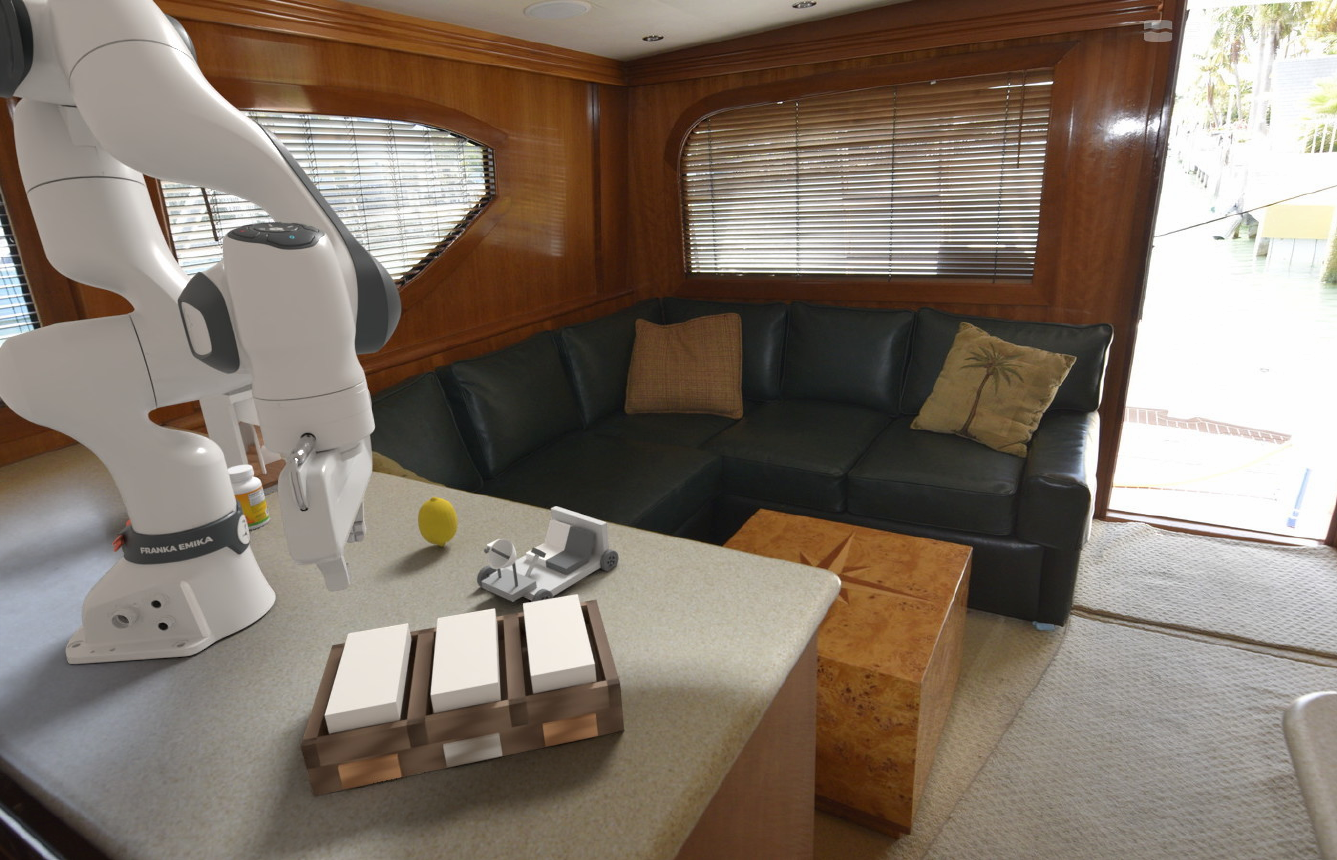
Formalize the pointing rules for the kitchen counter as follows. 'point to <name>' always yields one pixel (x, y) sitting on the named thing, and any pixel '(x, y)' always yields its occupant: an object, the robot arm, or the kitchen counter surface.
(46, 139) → the robot arm
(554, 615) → the switch
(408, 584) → the kitchen counter surface
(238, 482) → the supplement bottle
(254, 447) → the white tiered stand
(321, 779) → the brown boxy piece
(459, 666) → the switch
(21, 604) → the kitchen counter surface
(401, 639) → the switch
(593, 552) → the toy car
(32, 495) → the kitchen counter surface
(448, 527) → the lemon
